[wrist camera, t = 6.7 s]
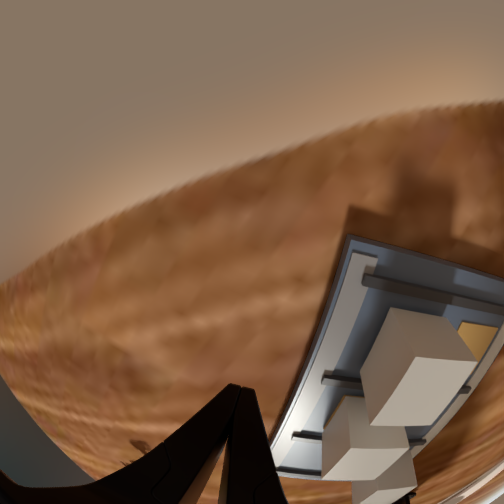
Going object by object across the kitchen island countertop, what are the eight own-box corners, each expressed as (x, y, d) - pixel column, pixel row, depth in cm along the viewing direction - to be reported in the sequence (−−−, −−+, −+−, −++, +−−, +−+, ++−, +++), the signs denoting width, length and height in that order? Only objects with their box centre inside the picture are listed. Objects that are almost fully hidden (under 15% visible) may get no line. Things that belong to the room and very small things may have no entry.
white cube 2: (397, 400, 13) (409, 447, 10) (369, 436, 14) (374, 479, 11) (345, 396, 13) (350, 448, 10) (322, 433, 15) (321, 479, 11)
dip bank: (521, 284, 11) (532, 293, 9) (387, 472, 18) (388, 482, 16) (347, 233, 12) (352, 242, 11) (258, 463, 19) (256, 475, 18)
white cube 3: (410, 449, 15) (417, 485, 11) (385, 472, 16) (389, 504, 12) (373, 451, 15) (377, 490, 11) (351, 472, 16) (352, 507, 13)
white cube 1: (446, 317, 11) (478, 361, 8) (413, 376, 12) (430, 425, 9) (390, 306, 11) (415, 356, 8) (359, 371, 13) (369, 425, 9)
